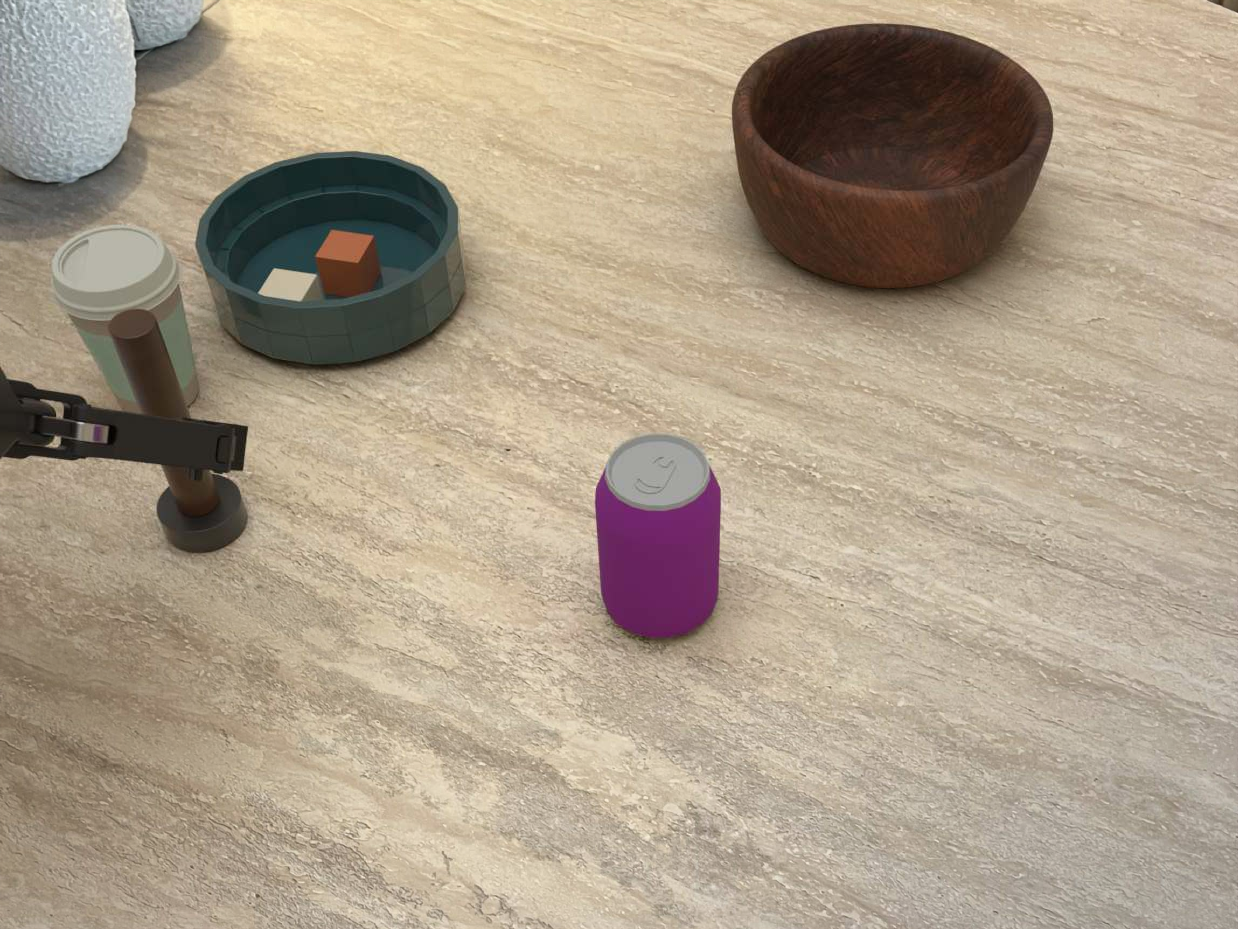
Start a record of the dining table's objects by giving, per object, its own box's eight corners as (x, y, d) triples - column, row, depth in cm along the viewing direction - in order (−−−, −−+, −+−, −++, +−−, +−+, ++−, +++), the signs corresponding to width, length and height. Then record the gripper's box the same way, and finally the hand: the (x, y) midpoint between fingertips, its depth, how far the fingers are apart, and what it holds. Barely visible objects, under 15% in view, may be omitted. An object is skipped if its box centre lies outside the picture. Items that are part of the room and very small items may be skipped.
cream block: (266, 334, 111) (255, 296, 108) (283, 305, 113) (273, 267, 110) (309, 340, 111) (299, 302, 108) (326, 311, 113) (317, 274, 110)
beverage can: (637, 543, 99) (632, 409, 90) (738, 582, 97) (744, 449, 87) (580, 620, 95) (568, 487, 86) (684, 663, 93) (684, 532, 83)
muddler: (150, 545, 99) (66, 346, 85) (185, 488, 102) (109, 287, 89) (227, 559, 98) (155, 360, 85) (260, 500, 101) (195, 300, 88)
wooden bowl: (954, 113, 131) (973, 0, 123) (1083, 279, 117) (1113, 164, 109) (689, 161, 126) (690, 47, 118) (789, 340, 112) (797, 224, 104)
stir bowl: (174, 351, 111) (151, 285, 106) (274, 202, 123) (257, 137, 118) (419, 389, 109) (407, 324, 104) (498, 233, 120) (490, 169, 115)
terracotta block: (323, 294, 114) (314, 256, 111) (339, 267, 116) (331, 229, 113) (366, 300, 114) (358, 262, 111) (381, 273, 116) (374, 235, 113)
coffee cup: (150, 342, 112) (99, 206, 102) (241, 375, 109) (198, 239, 100) (75, 411, 107) (15, 274, 97) (168, 447, 105) (117, 311, 95)
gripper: (-344, 443, 70) (-56, 459, 91) (134, 528, 67) (320, 524, 88) (-335, 285, 69) (-45, 338, 90) (151, 363, 66) (336, 399, 87)
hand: (136, 430), depth 89 cm, fingers open, 13 cm apart
